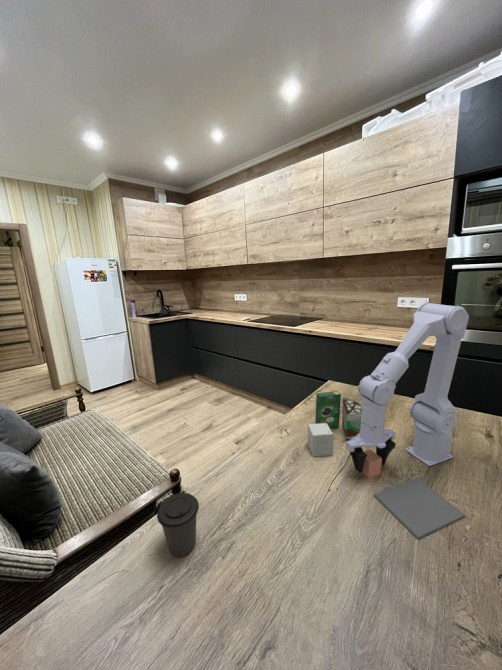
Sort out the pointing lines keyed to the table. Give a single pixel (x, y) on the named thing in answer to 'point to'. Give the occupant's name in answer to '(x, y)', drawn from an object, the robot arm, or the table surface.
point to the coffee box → (328, 409)
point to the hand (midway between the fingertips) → (369, 466)
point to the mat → (419, 507)
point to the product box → (320, 439)
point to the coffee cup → (179, 523)
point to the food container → (351, 418)
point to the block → (372, 464)
